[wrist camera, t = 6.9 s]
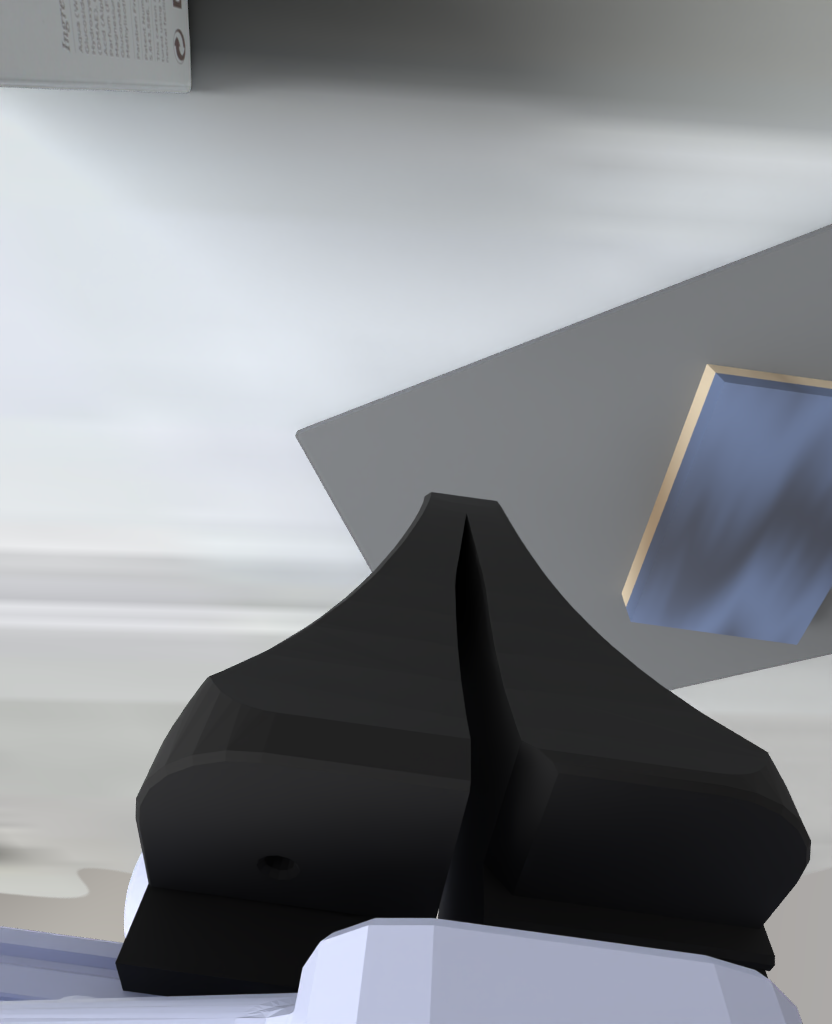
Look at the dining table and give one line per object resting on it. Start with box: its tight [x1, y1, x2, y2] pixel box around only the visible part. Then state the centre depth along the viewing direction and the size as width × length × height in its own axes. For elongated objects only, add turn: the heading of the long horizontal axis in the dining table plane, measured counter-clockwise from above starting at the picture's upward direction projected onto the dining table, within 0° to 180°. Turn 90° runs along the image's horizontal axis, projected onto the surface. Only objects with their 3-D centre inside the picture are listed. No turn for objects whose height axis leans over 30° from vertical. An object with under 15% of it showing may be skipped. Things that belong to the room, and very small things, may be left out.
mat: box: [295, 224, 832, 690], centre depth 23 cm, size 20×16×1 cm
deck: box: [622, 364, 832, 645], centre depth 21 cm, size 9×2×6 cm
